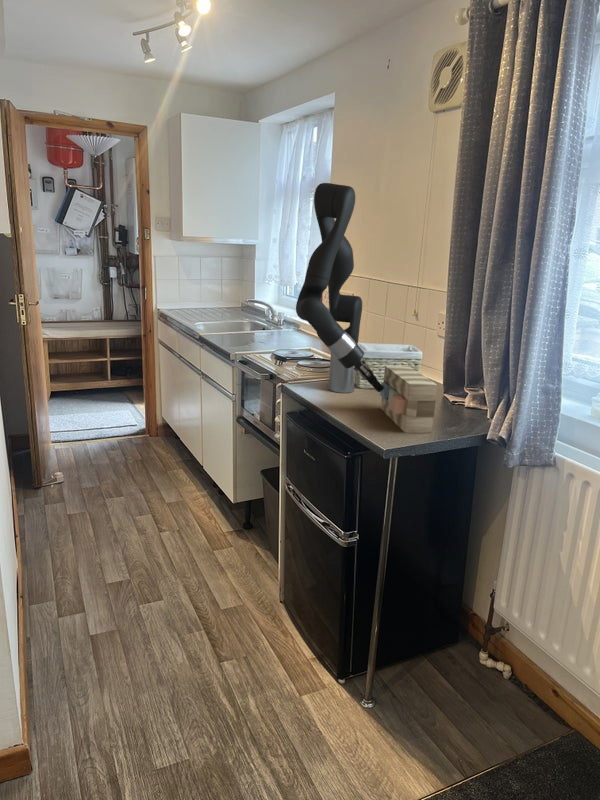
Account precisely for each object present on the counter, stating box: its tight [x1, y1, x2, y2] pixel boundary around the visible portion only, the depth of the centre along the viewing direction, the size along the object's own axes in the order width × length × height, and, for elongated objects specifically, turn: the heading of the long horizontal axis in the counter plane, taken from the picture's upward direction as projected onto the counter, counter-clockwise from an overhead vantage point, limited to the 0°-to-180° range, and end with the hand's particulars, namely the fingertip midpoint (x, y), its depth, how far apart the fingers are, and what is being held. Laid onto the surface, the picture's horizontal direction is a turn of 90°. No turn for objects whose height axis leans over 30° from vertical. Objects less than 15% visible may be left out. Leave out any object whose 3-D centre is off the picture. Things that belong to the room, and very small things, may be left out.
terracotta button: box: [390, 396, 406, 414], centre depth 166 cm, size 4×3×4 cm
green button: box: [388, 389, 398, 403], centre depth 174 cm, size 4×3×4 cm
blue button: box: [379, 383, 390, 398], centre depth 182 cm, size 4×3×4 cm
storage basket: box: [355, 342, 423, 390], centre depth 217 cm, size 24×16×15 cm
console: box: [380, 366, 438, 434], centre depth 175 cm, size 24×8×14 cm, turn 8°
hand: (380, 389), depth 181 cm, fingers closed
